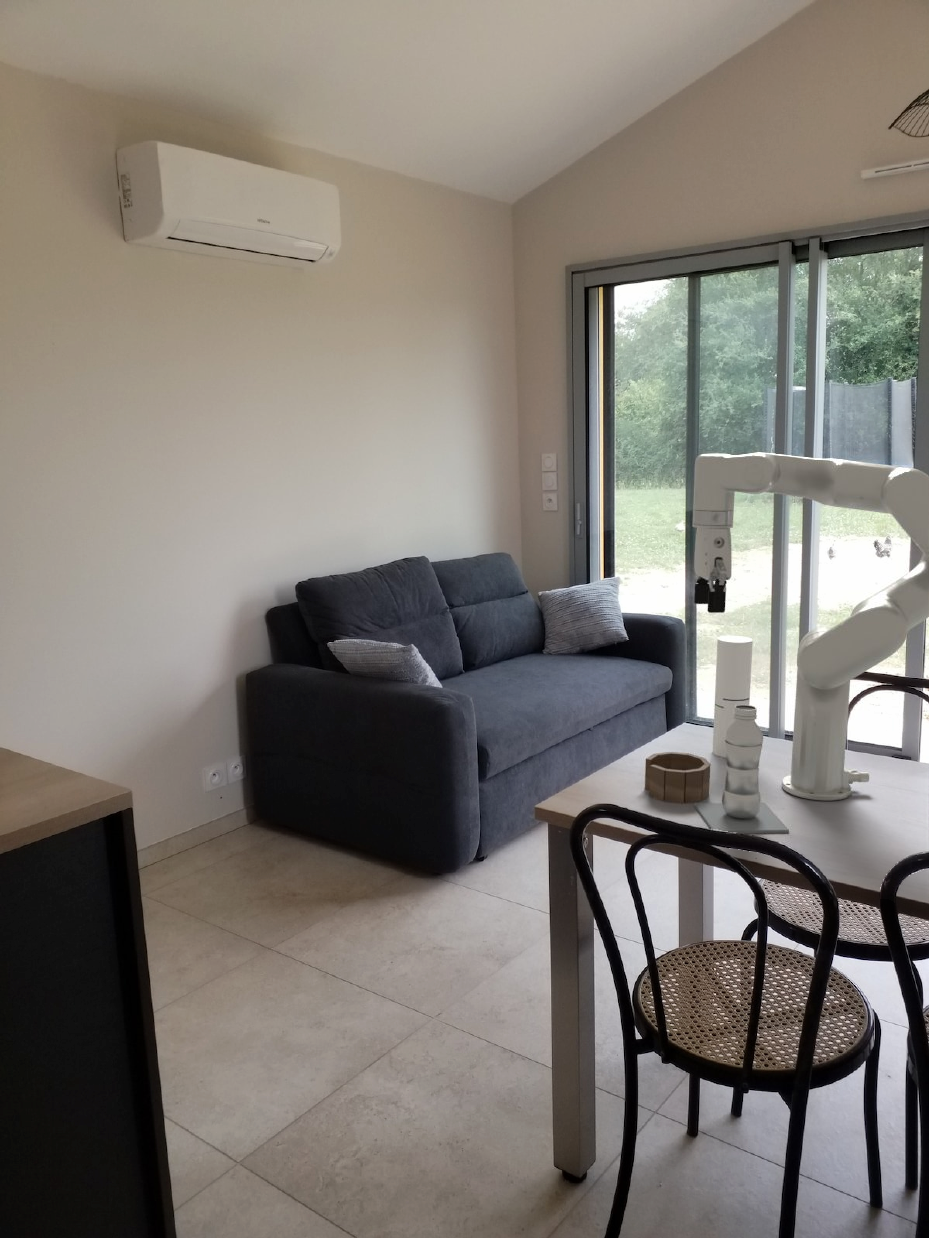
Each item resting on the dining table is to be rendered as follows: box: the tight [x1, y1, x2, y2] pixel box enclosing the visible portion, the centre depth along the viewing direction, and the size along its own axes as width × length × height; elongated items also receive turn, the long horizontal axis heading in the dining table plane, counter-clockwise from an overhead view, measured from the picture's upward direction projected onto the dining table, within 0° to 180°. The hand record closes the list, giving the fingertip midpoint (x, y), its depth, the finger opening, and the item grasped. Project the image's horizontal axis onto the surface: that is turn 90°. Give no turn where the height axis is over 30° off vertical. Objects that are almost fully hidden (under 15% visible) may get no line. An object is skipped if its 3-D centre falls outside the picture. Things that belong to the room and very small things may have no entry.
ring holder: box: [644, 751, 711, 804], centre depth 191 cm, size 12×12×6 cm
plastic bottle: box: [721, 704, 764, 819], centre depth 177 cm, size 6×7×20 cm
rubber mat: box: [693, 802, 790, 834], centre depth 178 cm, size 13×13×1 cm
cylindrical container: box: [712, 635, 754, 759], centre depth 213 cm, size 7×7×25 cm
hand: (709, 608), depth 194 cm, fingers open, 9 cm apart
